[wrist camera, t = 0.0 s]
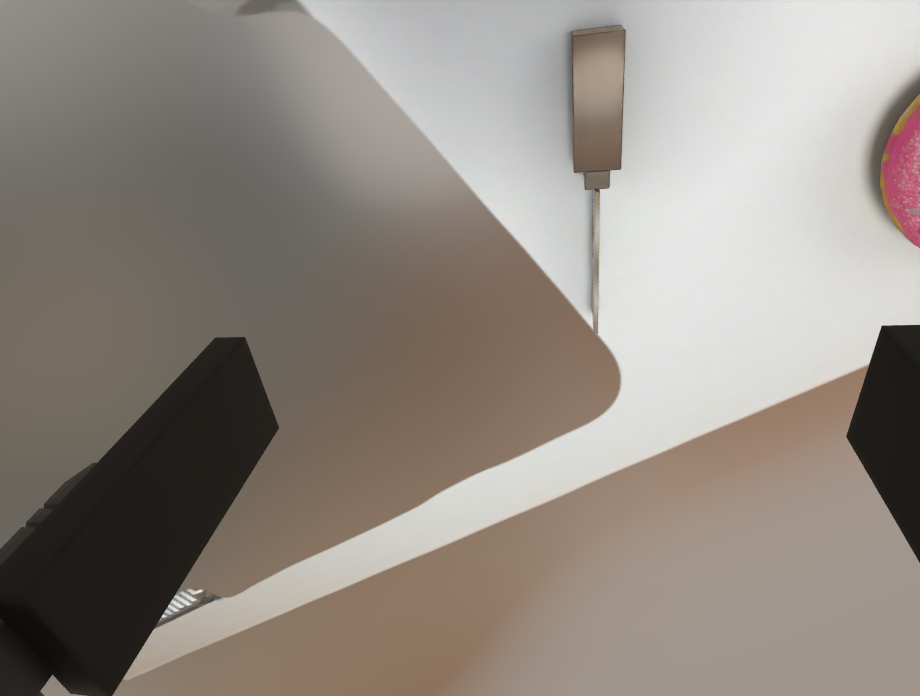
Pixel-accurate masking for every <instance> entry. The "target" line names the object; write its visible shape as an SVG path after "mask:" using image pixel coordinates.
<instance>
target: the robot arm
mask: <svg viewBox="0 0 920 696" xmlns="http://www.w3.org/2000/svg"><path fill="white" fill-rule="evenodd" d="M278 429H279V426H278V424H277V421H276V418H275V416H274V413H273V410H272V408H271V405H270V402H269V400H268V397H267V394H266V392H265V389H264V387H263V384H262V381H261V378H260V376H259V373H258V370H257V368H256V365H255V362H254V360H253V357H252V354H251V352H250V349H249V346H248V344H247V341H246V339H245V337H233V338H231V337H230V338H215V339H214V340H213V341H212V342H211V343H210V344H209V345H208V346H207V347H206V348H205V349H204V350H203V351H202V353H200V355H199V356H198V357H197V358H196V359H195V360H194V361H193V362H192V363H191V364H190V365H189V366H188V367H187V368H186V369H185V370H184V372H183V373H182V374H181V375H180V376H179V377H178V378H177V379H176V380H175V381H174V382H173V383H172V384H171V386H169V387H168V389H167V390H166V391H165V392H164V393H163V394H162V395H161V396H160V397H159V398H158V399H157V400H156V401H155V402H154V403H153V404H152V406H151V407H150V408H149V409H148V410H147V411H146V412H145V413H144V414H143V415H142V416H141V417H140V418H139V419H138V420H137V421H136V423H135V424H134V425H133V426H132V427H131V428H130V429H129V430H128V431H127V432H126V433H125V434H124V435H123V436H122V437H121V438H120V439H119V441H118V442H117V443H116V444H115V445H114V446H113V447H112V448H111V449H110V450H109V451H108V452H107V453H106V454H105V455H104V456H103V457H102V458H101V460H100V461H99V462H98V463H92V464H91V465H89V466H88V467H86V468H85V469H84V470H82V471H81V472H79V473H78V474H76V475H75V476H73V477H72V478H71V479H69V480H68V481H66V482H65V483H64V484H63V485H62V486H61V487H60V488H59V489H58V490H57V491H56V492H55V493H54V494H53V495H52V496H51V497H50V498H49V499H48V501H46V503H45V504H44V508H43V509H39V510H38V511H37V512H36V513H35V514H34V515H33V516H32V517H31V518H30V519H29V520H28V521H27V522H26V527H21V528H20V529H19V530H18V531H17V532H16V533H15V535H14V536H13V537H12V538H11V539H10V540H9V541H8V542H7V543H6V544H5V545H4V546H3V547H2V548H1V549H0V696H44V695H43V694H42V693H41V692H40V691H41V689H42V688H43V686H44V685H45V684H46V682H47V681H48V680H49V678H50V677H51V676H52V674H53V675H54V676H55V677H56V678H57V680H58V681H59V682H60V683H61V684H62V685H63V686H64V687H65V688H66V689H67V690H68V691H69V693H71V694H79V695H87V696H112V695H113V694H114V692H115V690H116V689H117V687H118V685H119V684H120V682H121V681H122V679H123V677H124V676H125V674H126V673H127V671H128V669H129V668H130V666H131V665H132V663H133V661H134V660H135V658H136V657H137V655H138V653H139V652H140V650H141V649H142V647H143V645H144V644H145V642H146V641H147V639H148V637H149V636H150V634H151V633H152V631H153V629H154V628H155V626H156V625H157V623H158V621H159V620H160V618H161V617H162V615H163V613H164V612H165V610H166V608H167V607H168V605H169V604H170V602H171V600H172V599H173V597H174V596H175V594H176V592H177V591H178V589H179V588H180V586H181V584H182V583H183V581H184V580H185V578H186V576H187V574H188V573H189V572H190V570H191V568H192V567H193V565H194V563H195V562H196V560H197V559H198V557H199V555H200V554H201V552H202V551H203V549H204V547H205V546H206V544H207V543H208V541H209V539H210V538H211V536H212V535H213V533H214V531H215V530H216V528H217V526H218V525H219V523H220V522H221V520H222V519H223V517H224V515H225V514H226V512H227V511H228V509H229V507H230V506H231V504H232V503H233V501H234V499H235V498H236V496H237V495H238V493H239V491H240V490H241V488H242V487H243V485H244V483H245V482H246V480H247V478H248V477H249V475H250V474H251V472H252V471H253V469H254V467H255V466H256V464H257V463H258V461H259V459H260V458H261V456H262V454H263V453H264V451H265V450H266V448H267V446H268V445H269V443H270V442H271V440H272V438H273V437H274V435H275V434H276V432H277V430H278ZM846 437H847V439H848V440H849V442H850V444H851V446H852V447H853V449H854V451H855V452H856V454H857V456H858V458H859V459H860V461H861V463H862V464H863V466H864V468H865V470H866V471H867V473H868V475H869V476H870V478H871V480H872V481H873V483H874V485H875V487H876V488H877V490H878V492H879V494H880V495H881V497H882V499H883V500H884V502H885V504H886V505H887V507H888V509H889V511H890V512H891V514H892V516H893V518H894V519H895V521H896V523H897V524H898V526H899V528H900V529H901V531H902V533H903V534H904V536H905V538H906V540H907V542H908V543H909V545H910V547H911V548H912V550H913V552H914V554H915V555H916V557H917V559H918V560H919V562H920V325H894V326H882V327H881V330H880V333H879V336H878V339H877V342H876V346H875V349H874V352H873V355H872V358H871V361H870V364H869V367H868V371H867V374H866V377H865V380H864V383H863V386H862V389H861V392H860V396H859V399H858V402H857V405H856V408H855V411H854V414H853V417H852V420H851V423H850V427H849V430H848V433H847V436H846Z"/></svg>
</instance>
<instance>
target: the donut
mask: <svg viewBox="0 0 920 696" xmlns="http://www.w3.org/2000/svg"><path fill="white" fill-rule="evenodd" d="M880 187H881V191H882V196H883V201H884V206H885V208H886V210H887V212H888V214H889V216H890V218H891V220H892V222H893V223H894V225H895V226H896V227H897V228H898V229H899V230H900V231H901V232H902V233H903V234H904V236H905V237H906V238H907V239H908V240H910V241H911V242H912V243H913V244H914V245H916V246H918V247H919V248H920V94H919V95H918V96H917V97H916V98H915V100H914V101H913V102H912V103H911V104H910V106H909V107H908V108H907V109H906V110H905V112H904V113H903V114H902V115H901V117H900V118H899V120H898V122H897V124H896V125H895V127H894V129H893V131H892V133H891V134H890V136H889V139H888V142H887V145H886V148H885V151H884V155H883V158H882V161H881V177H880Z"/></svg>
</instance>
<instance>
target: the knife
mask: <svg viewBox="0 0 920 696" xmlns="http://www.w3.org/2000/svg"><path fill="white" fill-rule="evenodd" d="M625 32H626V31H625V29H624V28H623V27H622V25H618V26H609V27H601V28H592V29H584V30H575V31H572V73H573V160H574V173H578V172H584V186H585V190H591V189H593V282H592V314H593V329H594V334H598V283H599V206H600V191H599V189H607V188H609V185H610V170H620V169H621V155H622V124H623V93H624V62H625Z"/></svg>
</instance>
